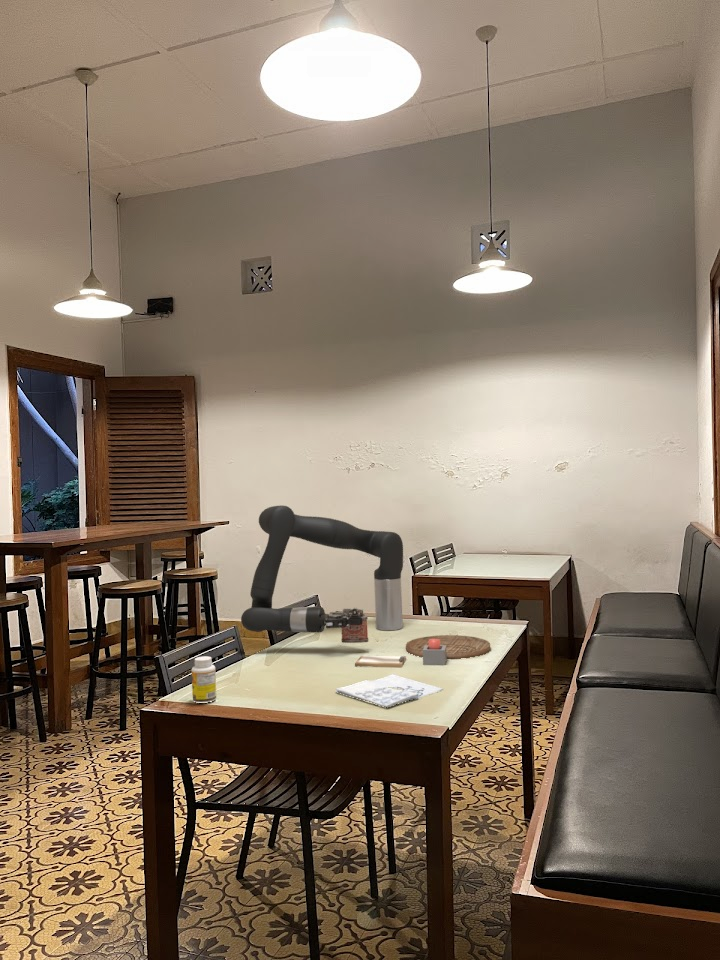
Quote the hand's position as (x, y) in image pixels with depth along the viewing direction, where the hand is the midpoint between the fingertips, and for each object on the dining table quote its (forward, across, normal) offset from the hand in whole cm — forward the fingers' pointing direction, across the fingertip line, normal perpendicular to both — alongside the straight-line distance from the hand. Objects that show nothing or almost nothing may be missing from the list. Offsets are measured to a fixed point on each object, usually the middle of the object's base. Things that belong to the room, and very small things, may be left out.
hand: (363, 619), depth 217 cm
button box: (+22, -10, +10) cm, 26 cm away
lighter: (-3, 0, +7) cm, 7 cm away
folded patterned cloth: (+14, -39, +10) cm, 43 cm away
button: (+22, -10, +8) cm, 25 cm away
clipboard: (+7, -12, +10) cm, 17 cm away
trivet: (+24, +5, +11) cm, 27 cm away
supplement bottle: (-29, -50, +9) cm, 59 cm away
